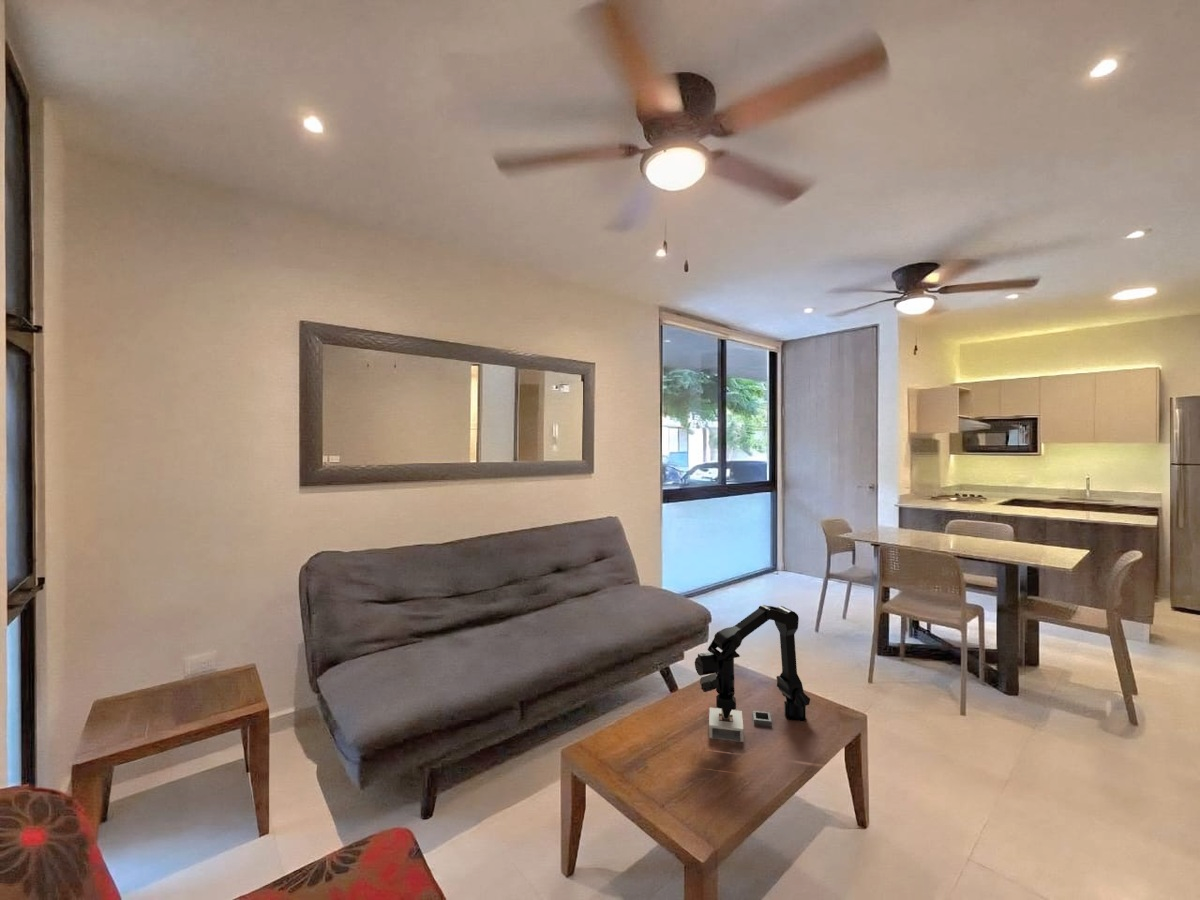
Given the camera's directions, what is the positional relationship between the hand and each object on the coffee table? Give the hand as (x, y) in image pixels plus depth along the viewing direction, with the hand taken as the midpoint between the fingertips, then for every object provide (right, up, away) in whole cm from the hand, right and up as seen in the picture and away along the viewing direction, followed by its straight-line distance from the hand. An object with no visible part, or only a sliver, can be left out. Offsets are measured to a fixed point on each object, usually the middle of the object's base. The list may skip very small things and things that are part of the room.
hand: (725, 715), depth 169 cm
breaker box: (0, -6, 0) cm, 6 cm away
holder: (+14, -5, +5) cm, 16 cm away
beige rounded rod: (0, -3, 0) cm, 3 cm away
